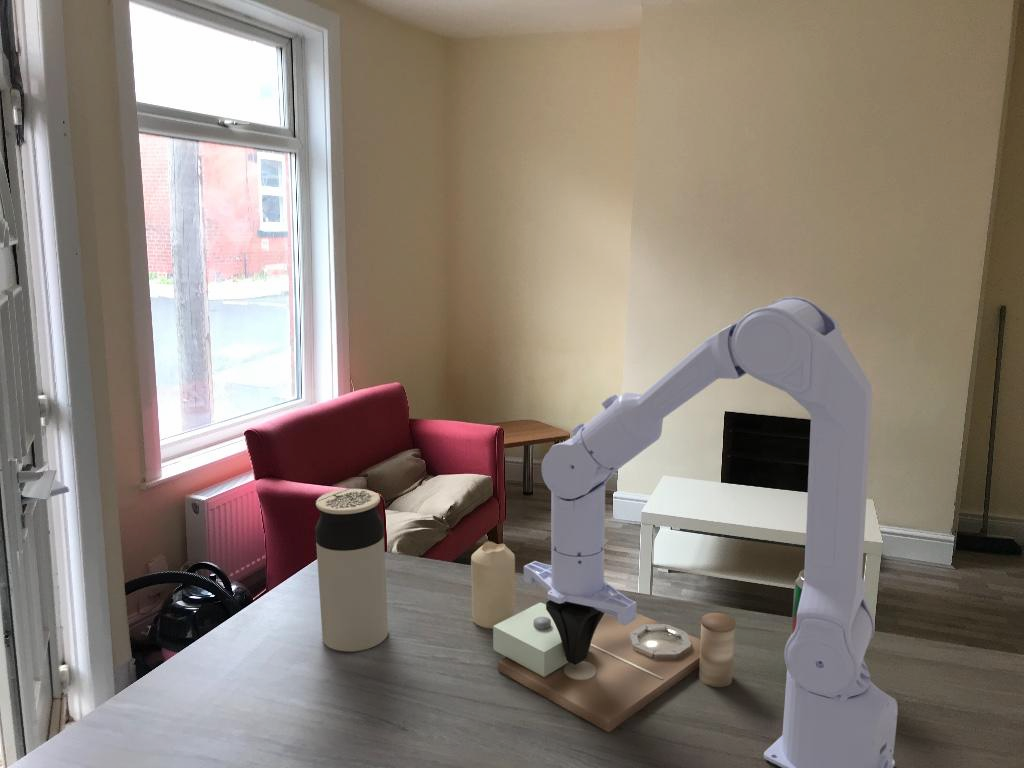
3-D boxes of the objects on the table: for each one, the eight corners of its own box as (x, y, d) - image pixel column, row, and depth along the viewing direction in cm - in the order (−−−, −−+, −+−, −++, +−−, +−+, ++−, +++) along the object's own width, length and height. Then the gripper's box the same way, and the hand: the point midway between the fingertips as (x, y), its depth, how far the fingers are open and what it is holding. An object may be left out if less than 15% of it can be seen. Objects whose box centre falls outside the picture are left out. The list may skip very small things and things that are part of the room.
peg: (738, 677, 92) (741, 620, 90) (721, 691, 89) (724, 632, 88) (710, 665, 94) (712, 609, 93) (692, 678, 92) (695, 621, 90)
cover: (590, 648, 95) (591, 620, 94) (544, 676, 90) (544, 647, 89) (540, 624, 101) (540, 597, 100) (493, 649, 95) (493, 621, 94)
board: (715, 655, 96) (715, 644, 96) (608, 732, 83) (608, 720, 82) (607, 609, 107) (607, 599, 107) (497, 670, 94) (497, 659, 93)
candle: (466, 613, 107) (464, 541, 105) (504, 604, 109) (503, 534, 107) (482, 633, 102) (481, 558, 100) (522, 623, 104) (522, 550, 102)
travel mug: (401, 635, 101) (395, 498, 97) (347, 661, 96) (339, 516, 92) (362, 614, 107) (355, 482, 103) (309, 637, 101) (300, 499, 97)
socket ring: (700, 642, 97) (701, 638, 97) (667, 665, 92) (667, 661, 92) (653, 622, 101) (653, 618, 101) (619, 643, 97) (619, 639, 97)
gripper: (504, 537, 91) (505, 648, 94) (607, 578, 81) (605, 701, 84) (547, 520, 96) (547, 626, 98) (649, 556, 85) (646, 673, 88)
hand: (576, 659), depth 91 cm, fingers closed
